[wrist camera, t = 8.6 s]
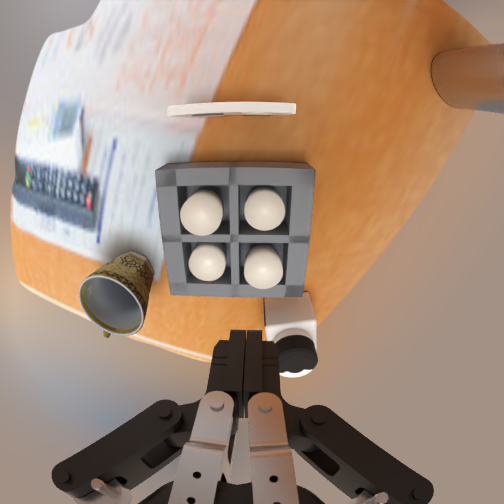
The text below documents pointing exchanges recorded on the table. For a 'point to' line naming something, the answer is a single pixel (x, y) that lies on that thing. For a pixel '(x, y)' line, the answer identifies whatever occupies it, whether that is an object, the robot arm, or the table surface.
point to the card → (232, 109)
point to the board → (236, 223)
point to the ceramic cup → (118, 294)
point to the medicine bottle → (292, 333)
